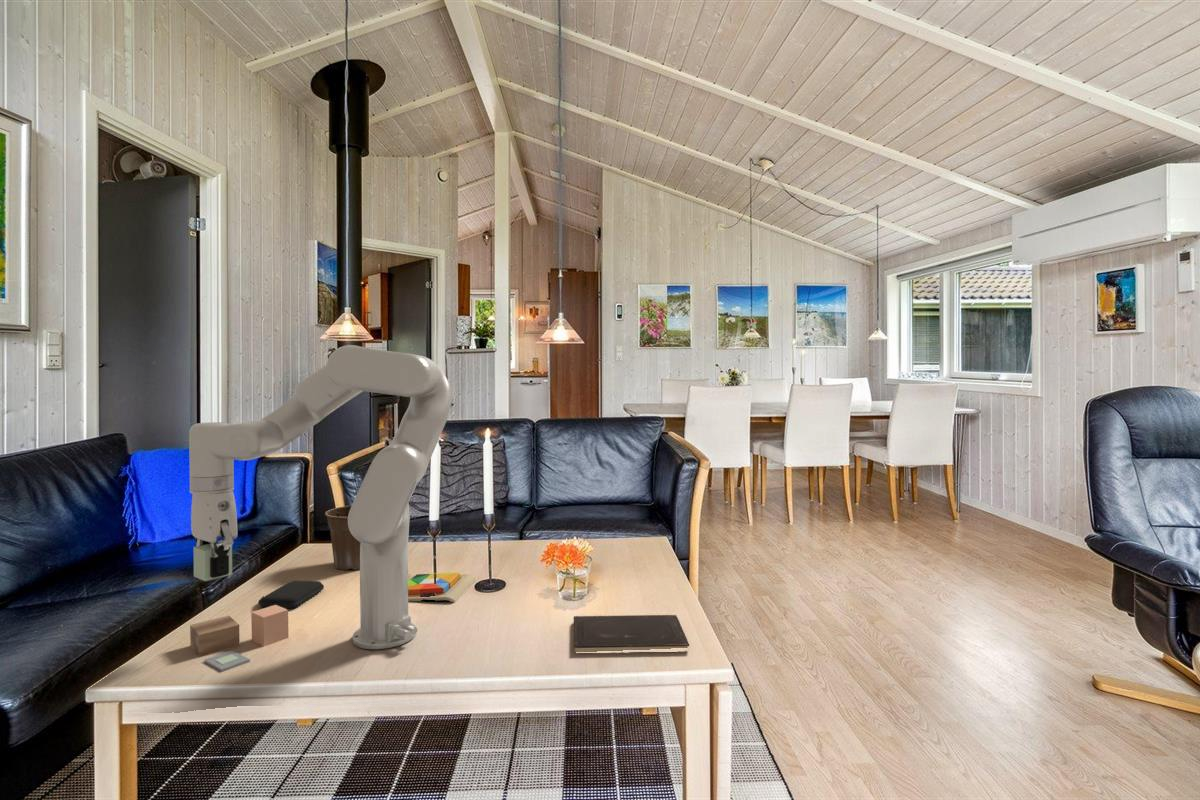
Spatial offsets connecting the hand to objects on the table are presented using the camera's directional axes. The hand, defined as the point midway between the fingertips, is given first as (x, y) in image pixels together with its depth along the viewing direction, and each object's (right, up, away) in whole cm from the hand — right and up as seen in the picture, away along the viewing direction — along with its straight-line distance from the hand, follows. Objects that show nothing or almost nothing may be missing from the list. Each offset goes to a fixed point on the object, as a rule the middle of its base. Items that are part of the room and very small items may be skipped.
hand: (212, 572), depth 123 cm
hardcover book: (+84, -16, +5) cm, 86 cm away
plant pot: (+7, -14, +55) cm, 57 cm away
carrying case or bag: (+2, -15, +27) cm, 31 cm away
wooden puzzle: (+35, -15, +34) cm, 51 cm away
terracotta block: (+10, -15, +4) cm, 18 cm away
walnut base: (0, -15, +1) cm, 15 cm away
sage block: (0, -1, 0) cm, 1 cm away
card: (+7, -15, -6) cm, 18 cm away
